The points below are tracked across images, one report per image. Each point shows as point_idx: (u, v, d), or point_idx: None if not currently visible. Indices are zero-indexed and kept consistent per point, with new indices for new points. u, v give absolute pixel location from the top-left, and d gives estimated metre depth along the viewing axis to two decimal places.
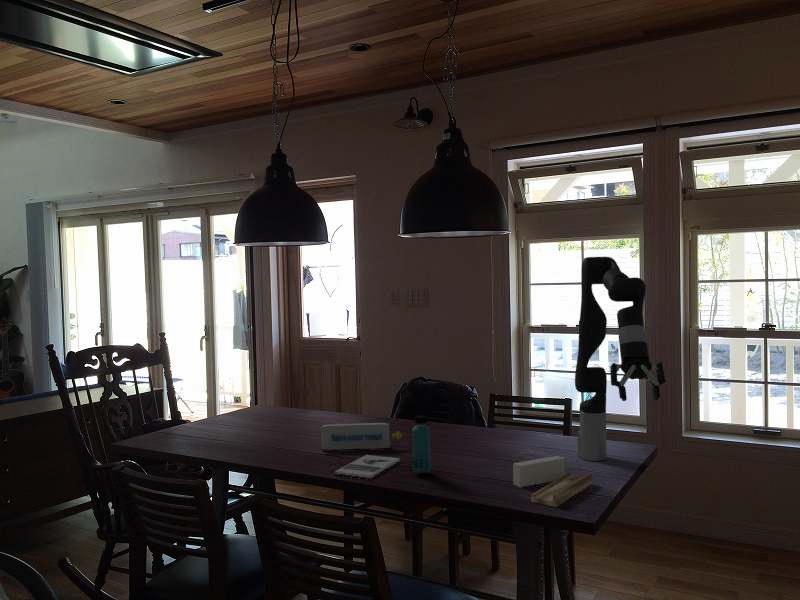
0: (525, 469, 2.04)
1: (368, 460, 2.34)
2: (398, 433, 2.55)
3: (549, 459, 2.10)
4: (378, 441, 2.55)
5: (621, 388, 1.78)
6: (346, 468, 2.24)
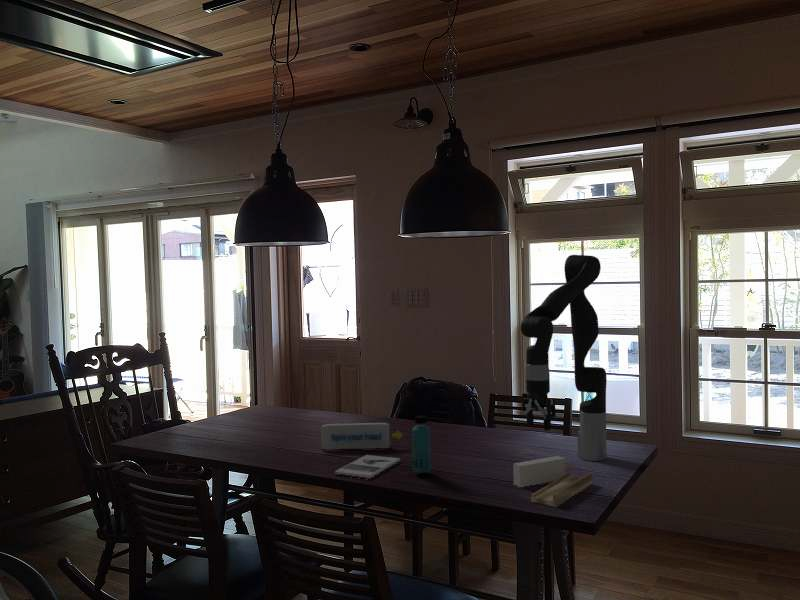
0: (526, 469, 2.04)
1: (368, 460, 2.34)
2: (398, 433, 2.55)
3: (549, 459, 2.10)
4: (378, 441, 2.55)
5: (527, 415, 2.12)
6: (346, 467, 2.25)
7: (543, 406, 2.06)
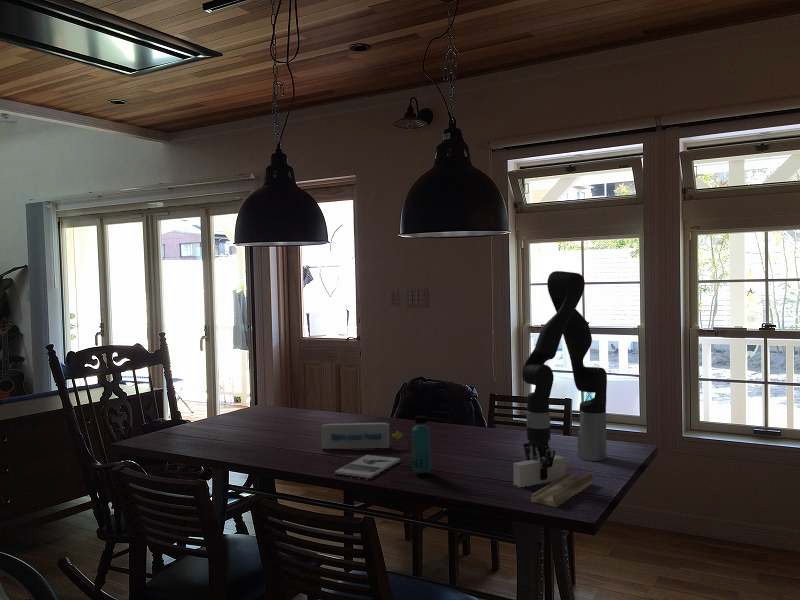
0: (526, 469, 2.04)
1: (368, 460, 2.34)
2: (398, 433, 2.55)
3: None
4: (378, 441, 2.55)
5: None
6: (346, 467, 2.25)
7: None
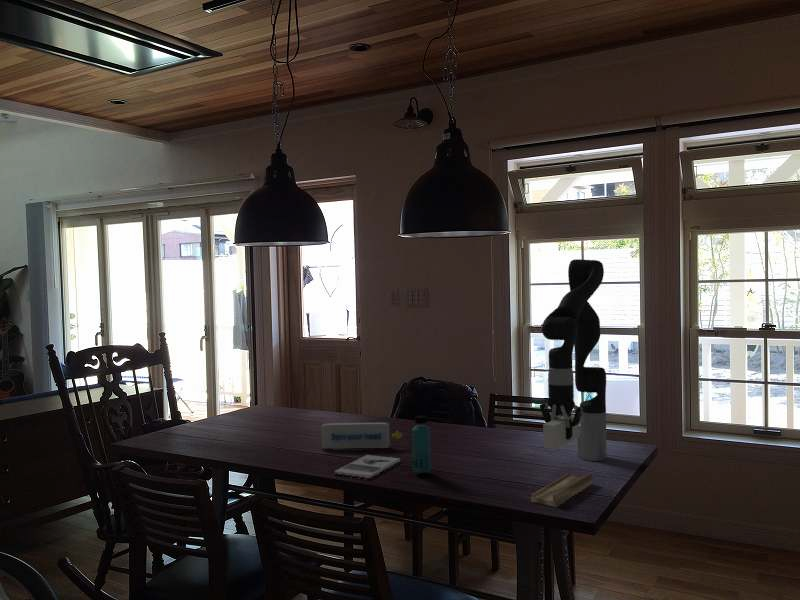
0: (557, 429, 1.91)
1: (368, 460, 2.34)
2: (397, 433, 2.55)
3: None
4: (378, 441, 2.55)
5: None
6: (346, 467, 2.25)
7: None
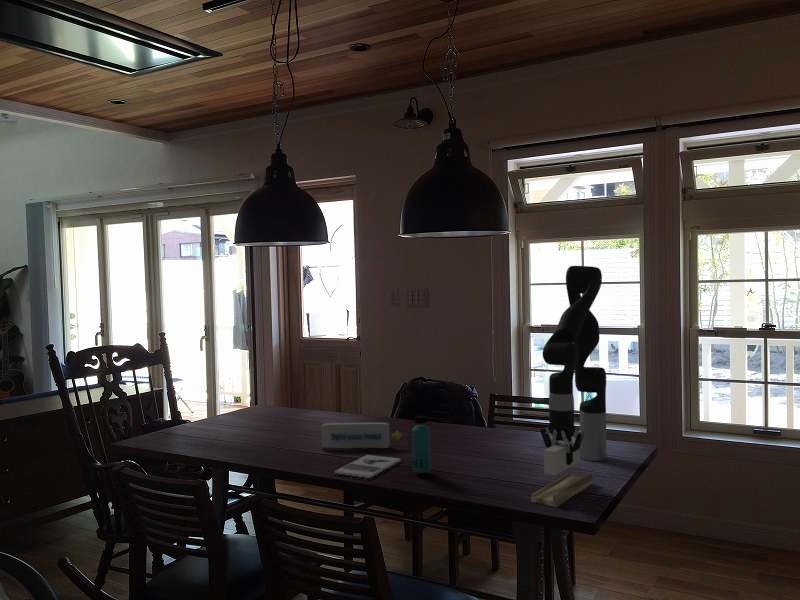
0: (558, 454, 1.91)
1: (368, 460, 2.34)
2: (397, 433, 2.55)
3: None
4: (377, 441, 2.55)
5: None
6: (346, 467, 2.25)
7: None
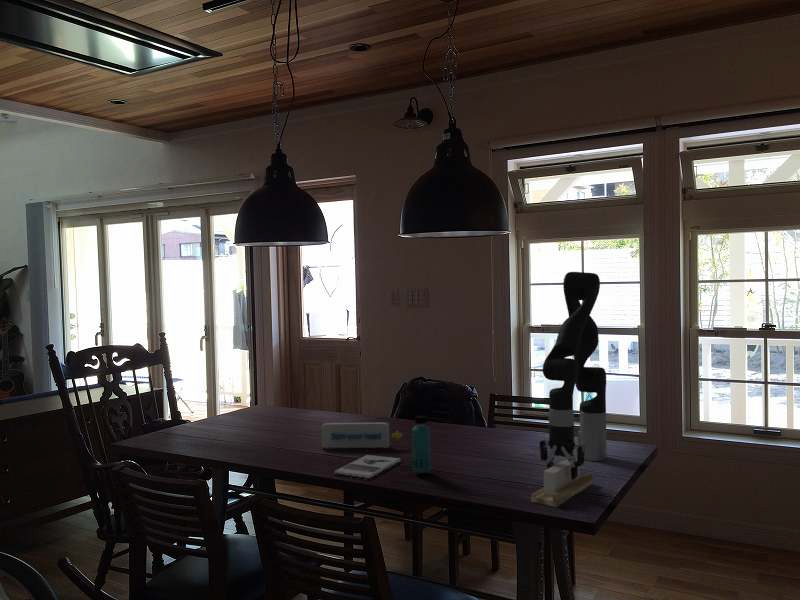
0: (558, 475, 1.91)
1: (368, 460, 2.34)
2: (397, 433, 2.55)
3: (568, 462, 2.00)
4: (377, 440, 2.56)
5: (548, 464, 1.99)
6: (346, 467, 2.25)
7: (569, 453, 1.95)
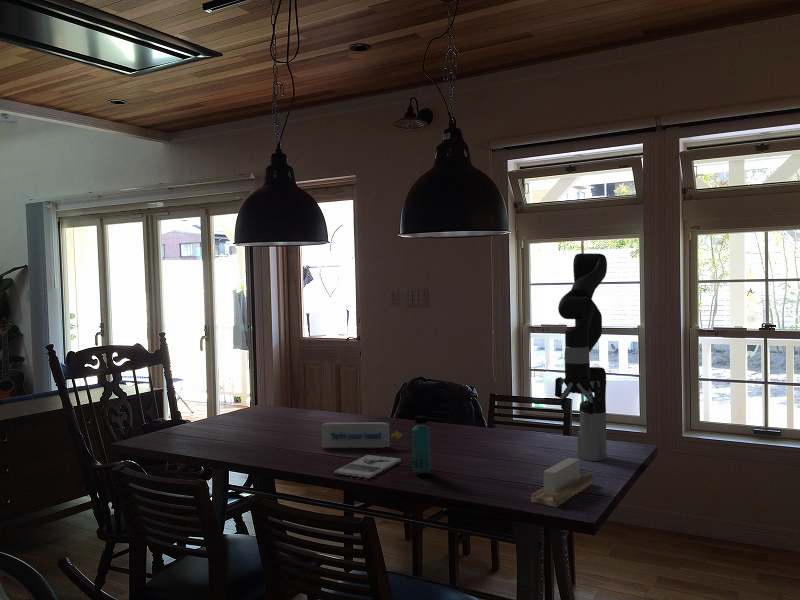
0: (558, 475, 1.91)
1: (368, 460, 2.34)
2: (397, 433, 2.55)
3: (568, 462, 2.00)
4: (377, 440, 2.56)
5: (562, 400, 2.03)
6: (346, 467, 2.25)
7: (586, 389, 1.98)
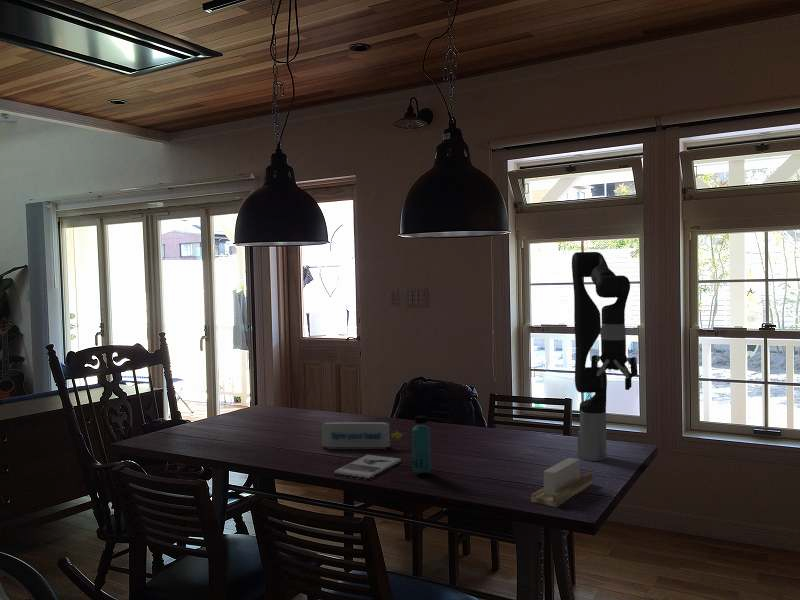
0: (558, 475, 1.91)
1: (369, 460, 2.34)
2: (397, 433, 2.55)
3: (568, 462, 2.00)
4: (377, 440, 2.56)
5: (598, 377, 2.08)
6: (346, 467, 2.25)
7: (622, 366, 2.04)
